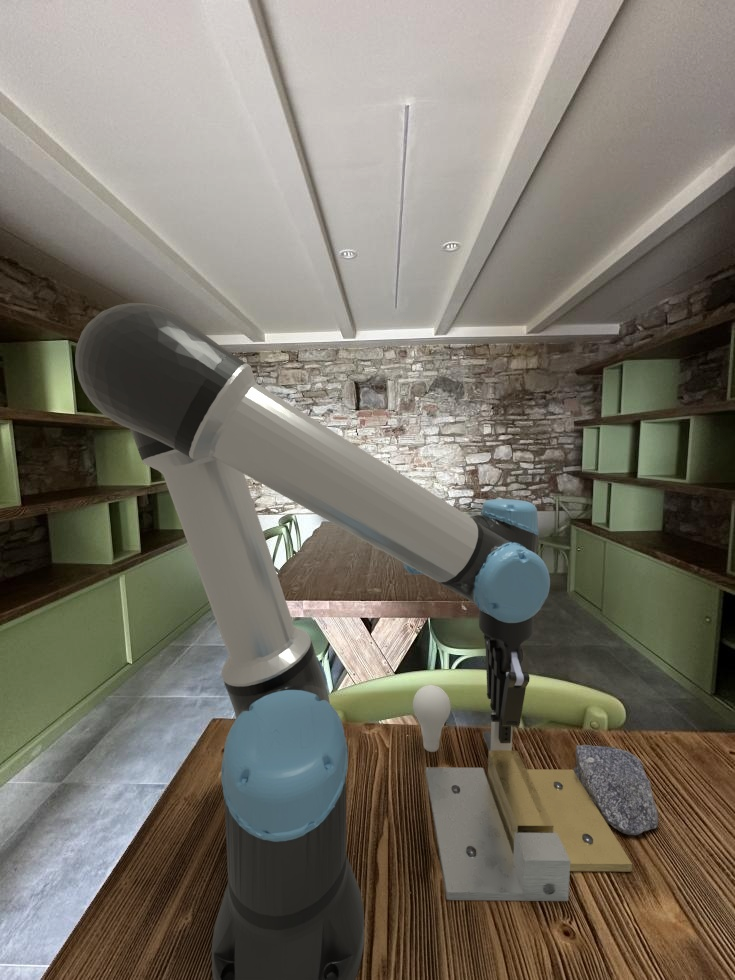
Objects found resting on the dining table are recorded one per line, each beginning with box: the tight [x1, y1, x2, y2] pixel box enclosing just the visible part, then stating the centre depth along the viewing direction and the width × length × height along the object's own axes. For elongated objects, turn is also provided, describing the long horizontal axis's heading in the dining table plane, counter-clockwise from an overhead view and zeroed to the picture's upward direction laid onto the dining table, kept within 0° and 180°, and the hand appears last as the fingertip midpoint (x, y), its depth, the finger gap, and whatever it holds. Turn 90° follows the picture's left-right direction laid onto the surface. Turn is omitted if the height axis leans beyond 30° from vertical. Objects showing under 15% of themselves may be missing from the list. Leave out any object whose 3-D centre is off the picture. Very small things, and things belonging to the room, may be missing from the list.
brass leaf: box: [487, 750, 633, 873], centre depth 54 cm, size 13×14×5 cm
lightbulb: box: [412, 684, 451, 753], centre depth 66 cm, size 6×6×11 cm
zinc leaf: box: [425, 730, 571, 902], centre depth 56 cm, size 14×24×5 cm, turn 0°
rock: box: [573, 744, 659, 836], centre depth 57 cm, size 12×5×10 cm
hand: (500, 755), depth 61 cm, fingers closed
